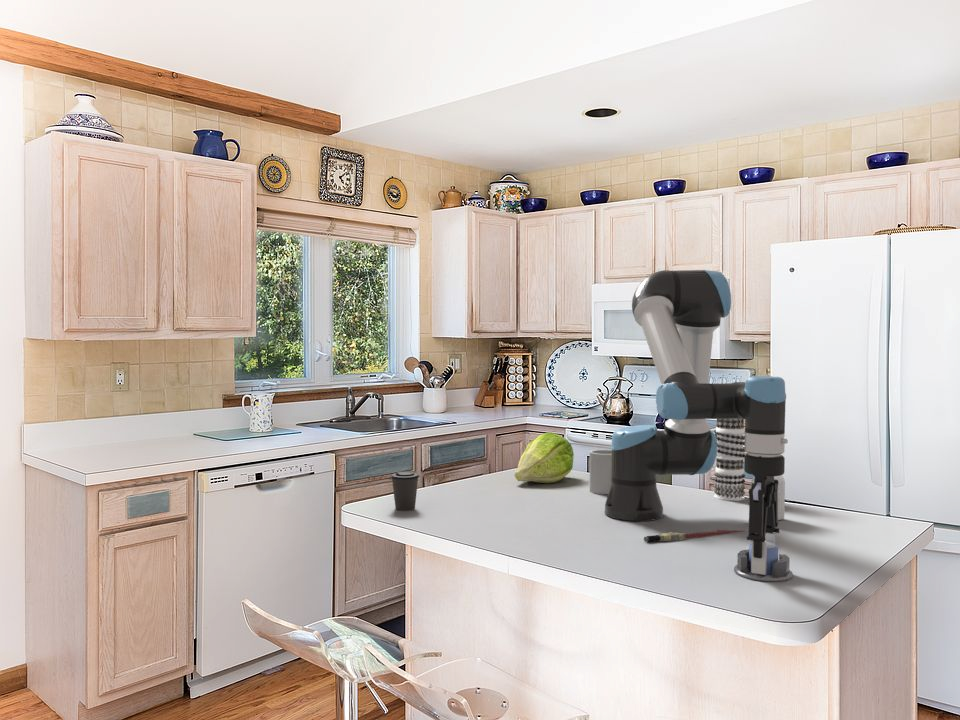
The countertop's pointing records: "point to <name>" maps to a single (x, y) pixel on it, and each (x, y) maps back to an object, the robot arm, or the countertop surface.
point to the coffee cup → (405, 490)
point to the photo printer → (779, 495)
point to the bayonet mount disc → (778, 575)
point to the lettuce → (545, 459)
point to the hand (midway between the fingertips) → (763, 568)
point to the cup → (600, 471)
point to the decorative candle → (730, 460)
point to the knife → (685, 535)
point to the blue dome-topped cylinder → (771, 556)
